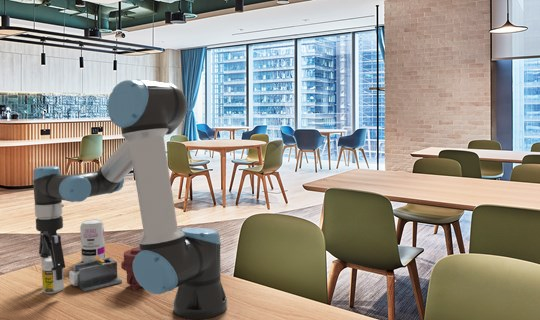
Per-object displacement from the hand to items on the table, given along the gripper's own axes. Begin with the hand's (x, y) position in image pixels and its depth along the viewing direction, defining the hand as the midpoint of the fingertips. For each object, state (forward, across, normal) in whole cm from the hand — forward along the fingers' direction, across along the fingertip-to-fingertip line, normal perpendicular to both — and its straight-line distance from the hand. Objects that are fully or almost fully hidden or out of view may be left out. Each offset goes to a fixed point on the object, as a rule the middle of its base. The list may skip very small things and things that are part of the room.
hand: (52, 283), depth 142 cm
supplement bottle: (+3, 0, 0) cm, 3 cm away
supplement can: (+3, +22, -20) cm, 30 cm away
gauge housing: (+3, 0, -13) cm, 14 cm away
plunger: (+2, 0, -11) cm, 11 cm away
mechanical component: (+3, -13, -22) cm, 26 cm away
